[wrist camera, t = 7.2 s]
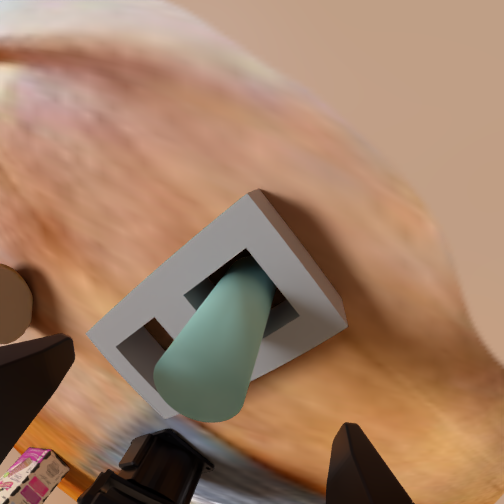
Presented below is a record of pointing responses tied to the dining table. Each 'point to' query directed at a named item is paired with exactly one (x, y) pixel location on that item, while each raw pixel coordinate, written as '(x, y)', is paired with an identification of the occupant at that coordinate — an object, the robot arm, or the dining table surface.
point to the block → (199, 287)
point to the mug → (13, 305)
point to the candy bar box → (32, 477)
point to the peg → (218, 346)
